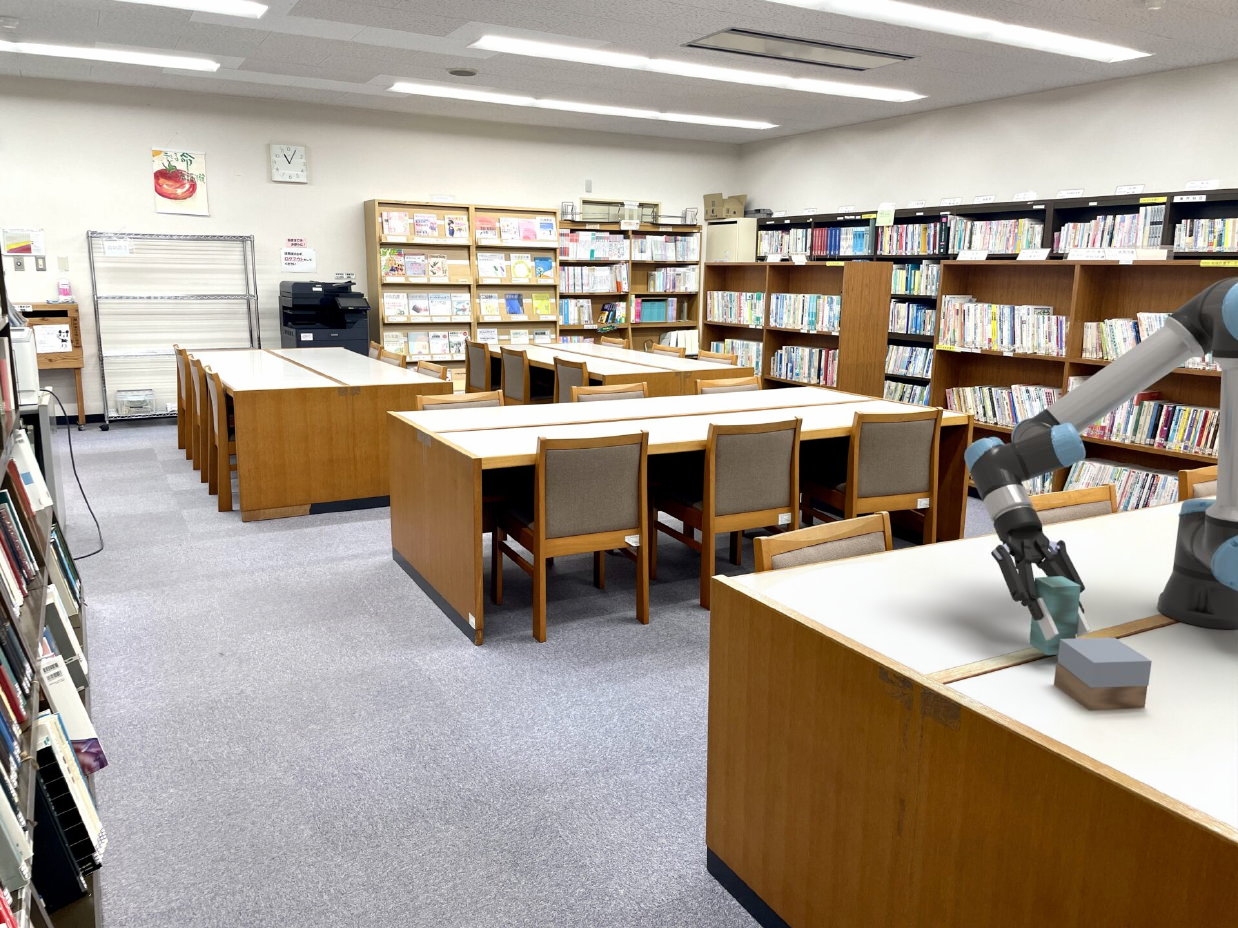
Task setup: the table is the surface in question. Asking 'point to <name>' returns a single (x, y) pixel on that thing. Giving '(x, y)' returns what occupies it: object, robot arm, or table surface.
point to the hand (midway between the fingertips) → (1068, 635)
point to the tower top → (1104, 662)
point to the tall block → (1056, 612)
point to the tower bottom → (1099, 693)
